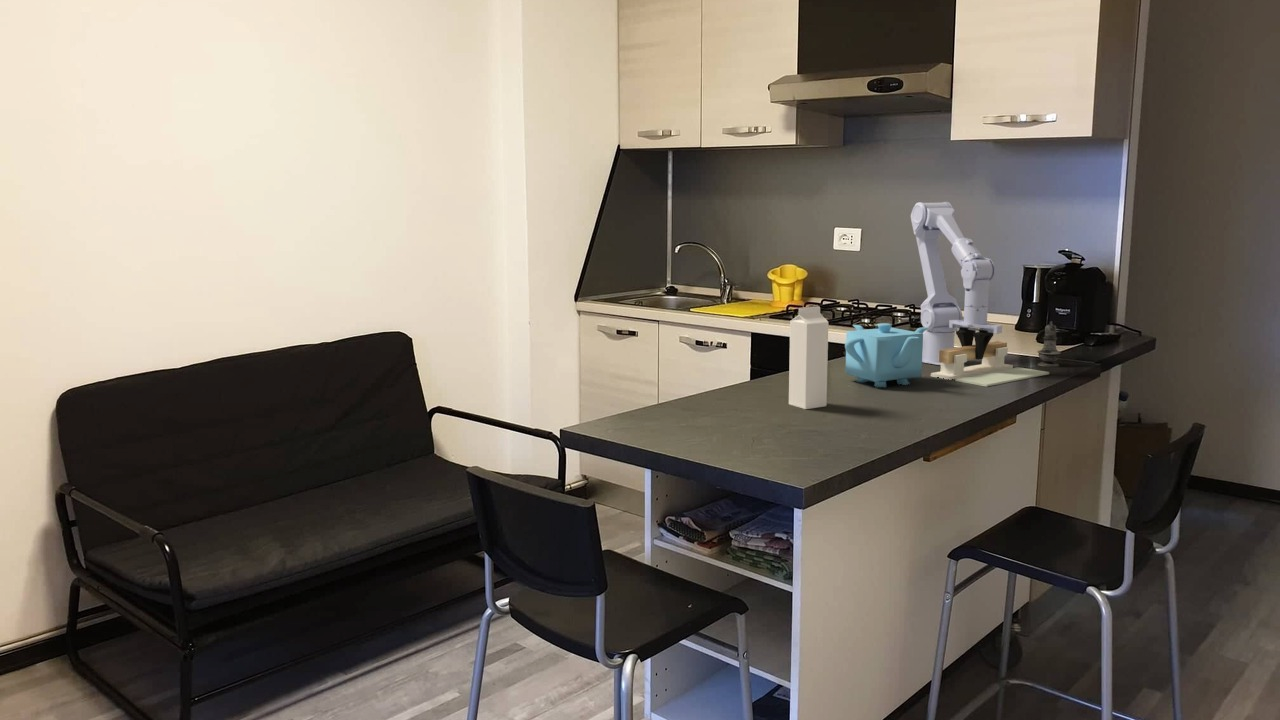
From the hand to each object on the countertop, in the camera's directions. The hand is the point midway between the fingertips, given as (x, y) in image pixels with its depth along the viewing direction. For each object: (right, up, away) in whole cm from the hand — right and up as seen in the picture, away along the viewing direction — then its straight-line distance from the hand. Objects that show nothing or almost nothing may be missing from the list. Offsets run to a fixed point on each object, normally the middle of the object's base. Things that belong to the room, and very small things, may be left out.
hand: (973, 358), depth 250 cm
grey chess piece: (+24, -2, +10) cm, 26 cm away
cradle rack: (0, -4, +1) cm, 4 cm away
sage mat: (+5, -5, -7) cm, 10 cm away
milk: (-49, -11, -35) cm, 62 cm away
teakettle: (-25, -6, -11) cm, 28 cm away
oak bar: (0, 0, 0) cm, 0 cm away
